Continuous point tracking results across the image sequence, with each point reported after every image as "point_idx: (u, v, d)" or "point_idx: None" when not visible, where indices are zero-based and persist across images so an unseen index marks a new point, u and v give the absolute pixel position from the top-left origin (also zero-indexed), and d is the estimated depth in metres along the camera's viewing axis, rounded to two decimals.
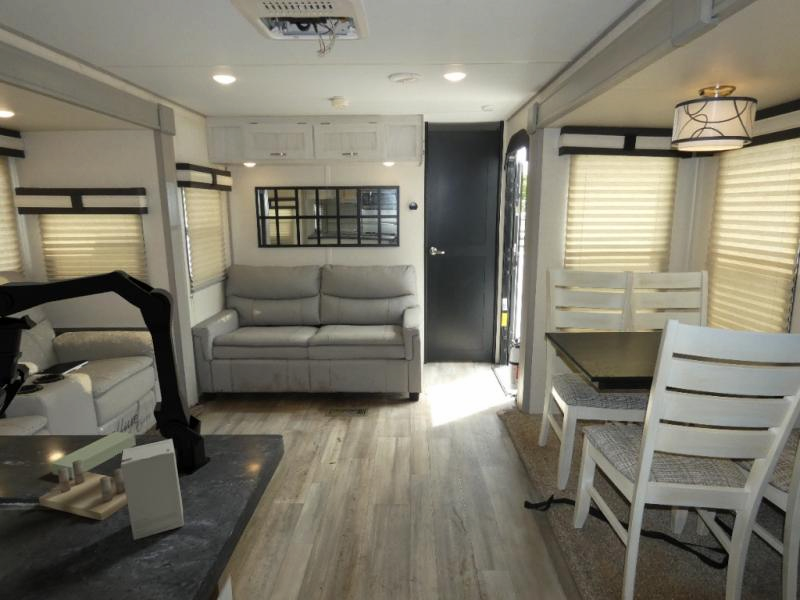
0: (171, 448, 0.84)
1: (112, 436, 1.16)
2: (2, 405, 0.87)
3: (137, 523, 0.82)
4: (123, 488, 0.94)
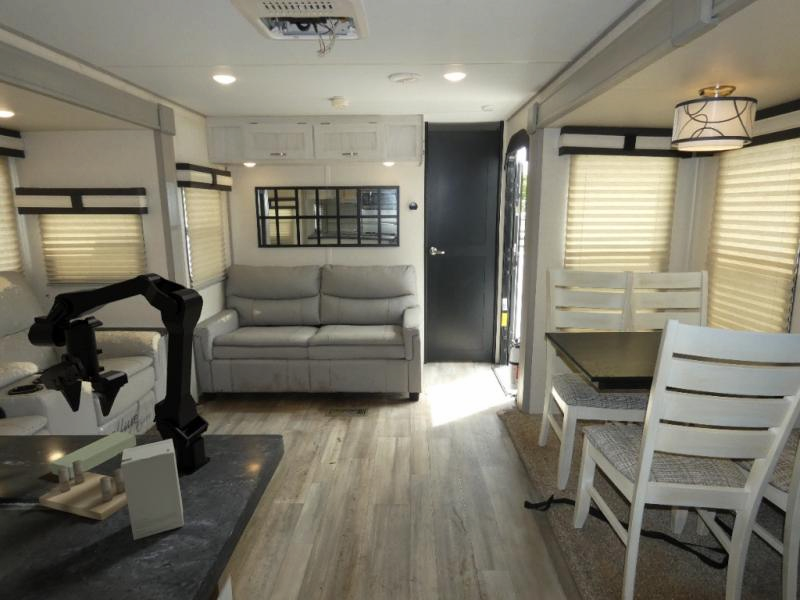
0: (171, 448, 0.84)
1: (113, 436, 1.16)
2: None
3: (137, 523, 0.82)
4: (123, 488, 0.94)
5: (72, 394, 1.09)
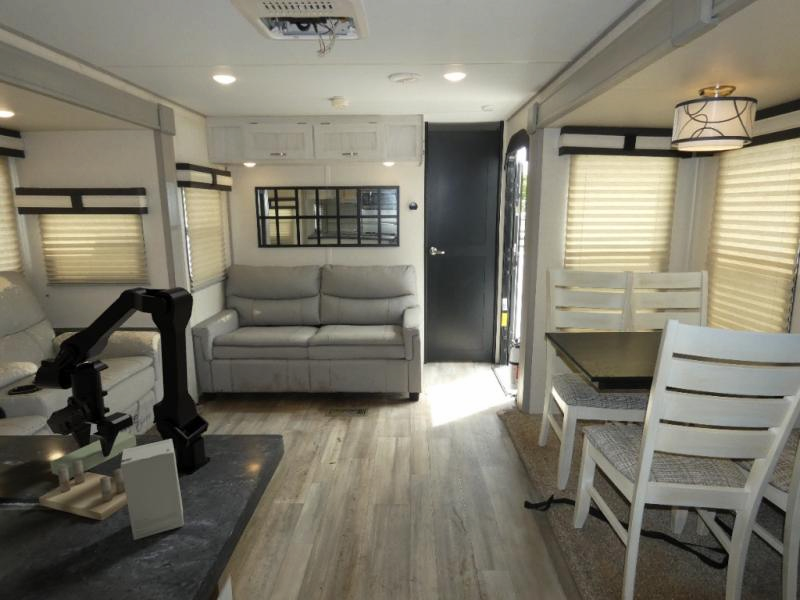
0: (171, 448, 0.84)
1: None
2: None
3: (137, 523, 0.82)
4: (123, 488, 0.94)
5: (82, 435, 1.10)
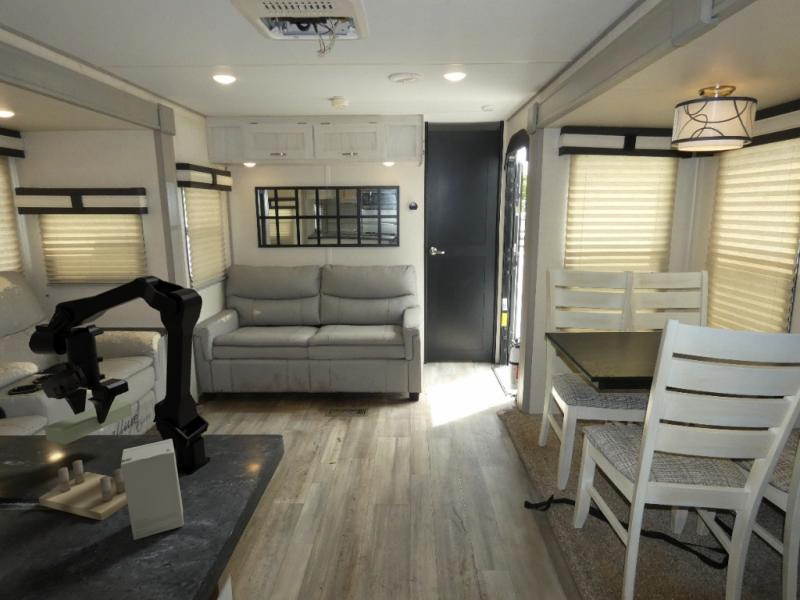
0: (171, 448, 0.83)
1: None
2: None
3: (137, 523, 0.82)
4: (123, 488, 0.94)
5: (77, 402, 1.09)
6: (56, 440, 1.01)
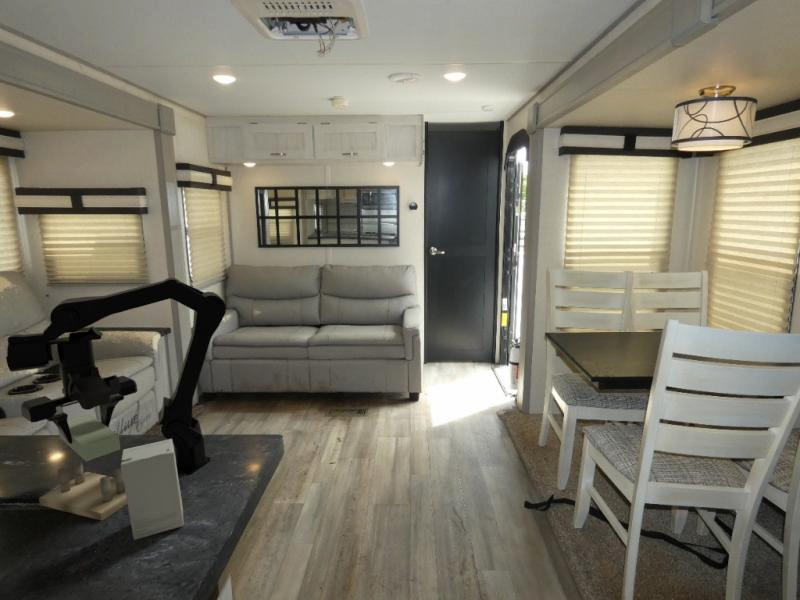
0: (171, 448, 0.84)
1: (69, 424, 0.99)
2: None
3: (137, 523, 0.82)
4: (123, 488, 0.94)
5: None
6: (104, 452, 0.92)
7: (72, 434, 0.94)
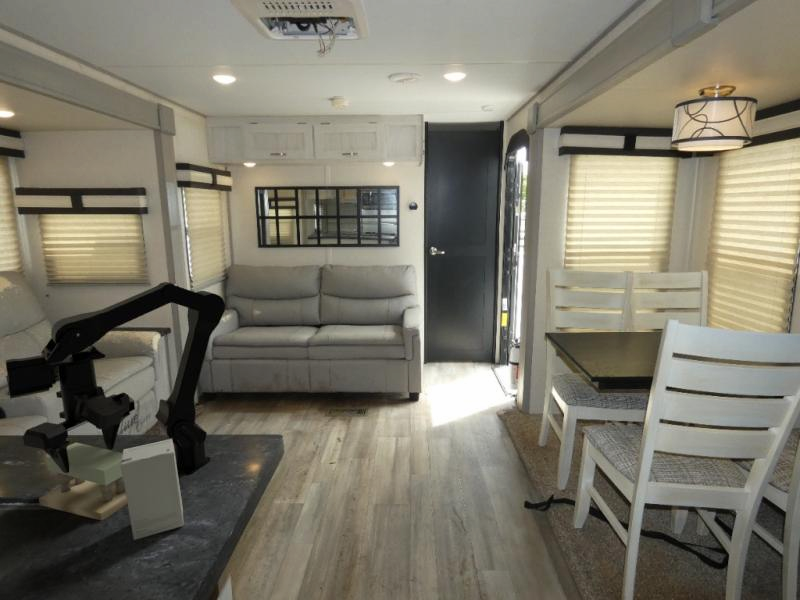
0: (171, 448, 0.84)
1: None
2: None
3: (137, 523, 0.82)
4: (123, 488, 0.94)
5: None
6: (120, 475, 0.91)
7: (76, 462, 0.91)
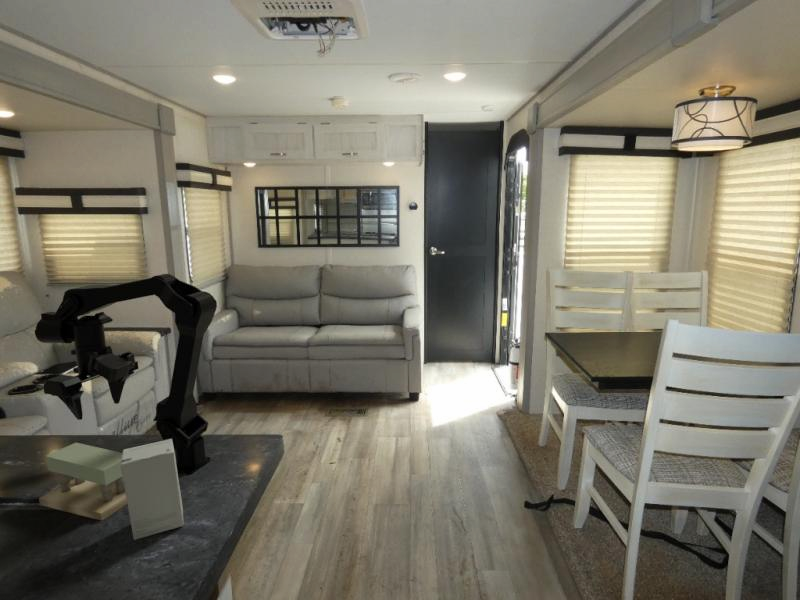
0: (171, 448, 0.84)
1: (61, 454, 0.94)
2: None
3: (137, 523, 0.82)
4: (123, 488, 0.94)
5: None
6: (120, 475, 0.91)
7: (76, 462, 0.91)
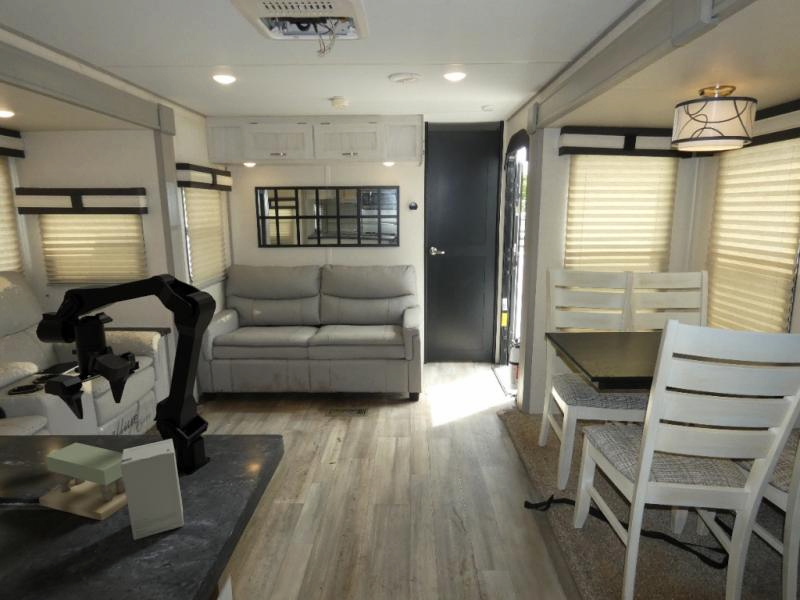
0: (171, 448, 0.84)
1: (61, 454, 0.94)
2: None
3: (137, 523, 0.82)
4: (123, 488, 0.94)
5: None
6: (120, 475, 0.91)
7: (76, 462, 0.91)
